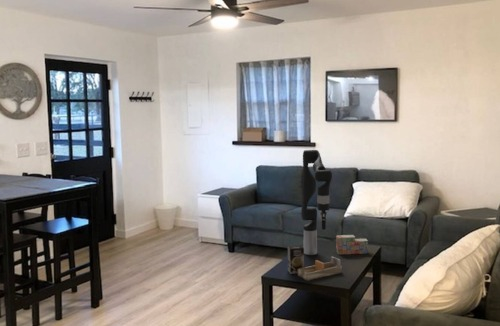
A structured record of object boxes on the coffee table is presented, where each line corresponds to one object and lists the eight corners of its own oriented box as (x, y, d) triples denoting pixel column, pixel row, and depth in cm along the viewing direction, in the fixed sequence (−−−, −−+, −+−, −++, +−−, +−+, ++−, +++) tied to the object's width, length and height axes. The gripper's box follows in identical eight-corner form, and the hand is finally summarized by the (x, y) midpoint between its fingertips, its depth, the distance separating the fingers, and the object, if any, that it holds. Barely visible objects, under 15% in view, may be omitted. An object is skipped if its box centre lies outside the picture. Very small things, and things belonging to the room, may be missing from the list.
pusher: (315, 271, 294) (315, 260, 293) (316, 270, 294) (316, 259, 294) (322, 274, 287) (322, 263, 287) (324, 274, 288) (323, 263, 287)
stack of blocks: (366, 251, 335) (366, 234, 334) (368, 253, 329) (368, 236, 328) (336, 251, 335) (336, 235, 334) (337, 254, 329) (337, 237, 328)
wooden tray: (297, 275, 290) (297, 263, 289) (331, 267, 302) (331, 255, 301) (307, 280, 281) (307, 267, 280) (341, 272, 293) (341, 260, 292)
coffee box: (290, 274, 293) (290, 249, 291) (287, 270, 299) (287, 246, 297) (304, 272, 294) (304, 247, 292) (301, 269, 301) (301, 245, 299)
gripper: (317, 199, 298) (317, 224, 300) (317, 204, 284) (317, 230, 286) (329, 199, 297) (329, 224, 299) (329, 204, 283) (330, 230, 285)
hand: (323, 227), depth 292 cm, fingers open, 8 cm apart
